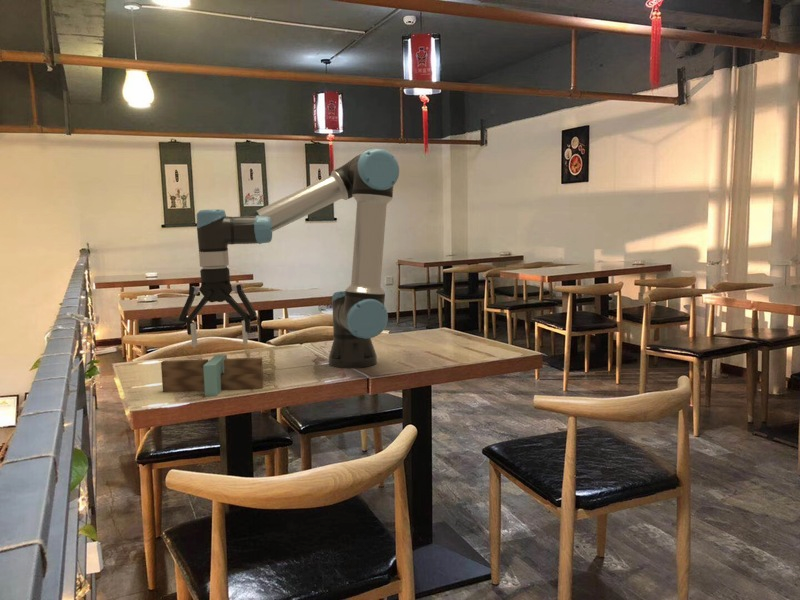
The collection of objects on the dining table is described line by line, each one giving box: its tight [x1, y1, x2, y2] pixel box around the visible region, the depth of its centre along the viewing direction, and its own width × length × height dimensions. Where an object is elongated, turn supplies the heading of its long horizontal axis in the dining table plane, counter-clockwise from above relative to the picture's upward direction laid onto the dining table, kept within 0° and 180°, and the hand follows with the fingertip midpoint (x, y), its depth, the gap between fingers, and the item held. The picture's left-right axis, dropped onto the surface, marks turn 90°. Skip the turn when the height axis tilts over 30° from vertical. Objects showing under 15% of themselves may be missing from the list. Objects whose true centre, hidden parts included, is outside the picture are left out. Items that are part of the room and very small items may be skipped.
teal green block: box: [203, 354, 228, 397], centre depth 166 cm, size 3×14×8 cm, turn 4°
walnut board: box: [160, 357, 264, 393], centre depth 166 cm, size 26×2×8 cm, turn 94°
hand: (220, 345), depth 169 cm, fingers open, 13 cm apart
